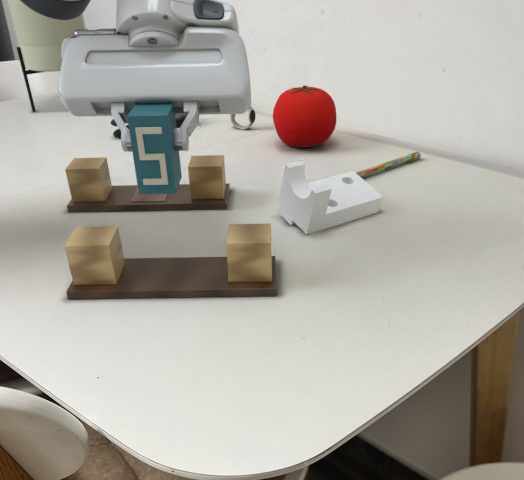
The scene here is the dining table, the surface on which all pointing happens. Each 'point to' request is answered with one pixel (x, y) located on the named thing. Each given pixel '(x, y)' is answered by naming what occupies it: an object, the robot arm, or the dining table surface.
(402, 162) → the pencil
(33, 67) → the planter
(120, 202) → the board
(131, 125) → the letter S tile
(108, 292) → the board
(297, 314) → the dining table surface
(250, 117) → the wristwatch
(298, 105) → the tomato
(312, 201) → the bracket
